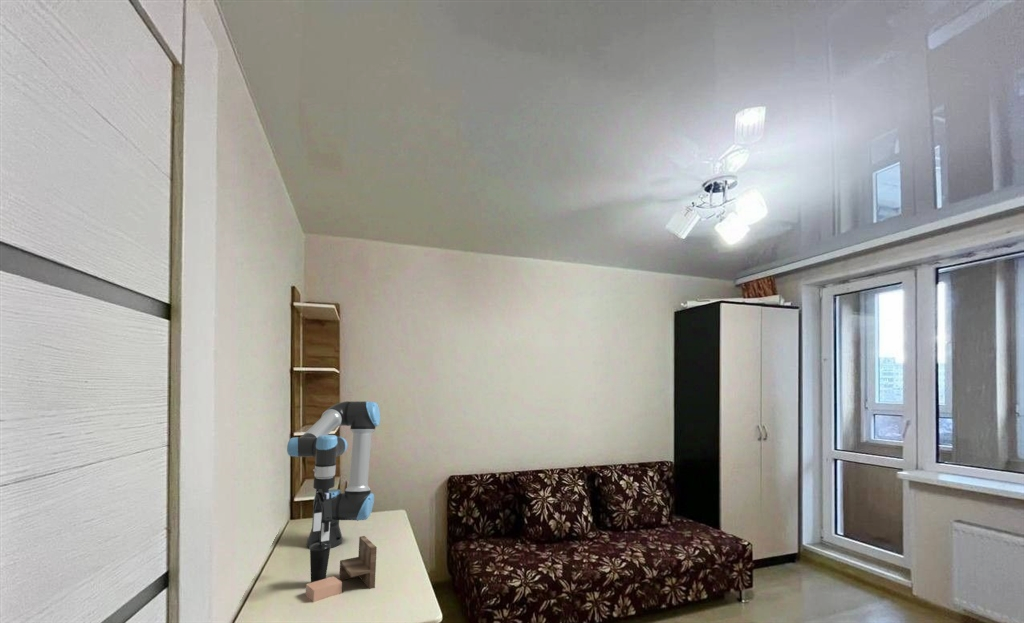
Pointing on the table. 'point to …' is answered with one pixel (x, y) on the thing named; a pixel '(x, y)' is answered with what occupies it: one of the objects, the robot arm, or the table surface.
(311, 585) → the pink rectangular block
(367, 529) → the table surface
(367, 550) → the desk shelf
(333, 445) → the robot arm
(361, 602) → the table surface
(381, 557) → the table surface
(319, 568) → the drinking cup
